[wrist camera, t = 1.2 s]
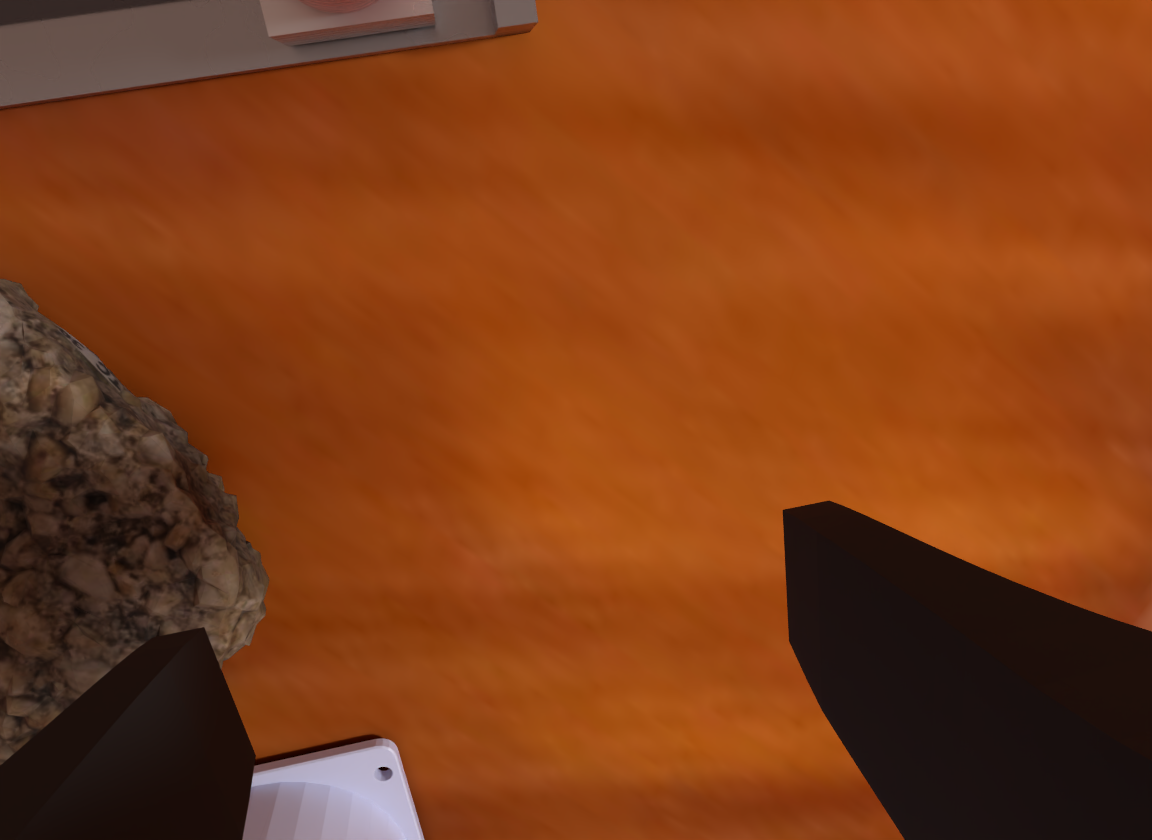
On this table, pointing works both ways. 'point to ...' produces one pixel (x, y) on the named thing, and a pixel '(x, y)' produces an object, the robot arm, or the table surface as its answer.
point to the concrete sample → (100, 527)
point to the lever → (341, 18)
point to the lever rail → (194, 42)
